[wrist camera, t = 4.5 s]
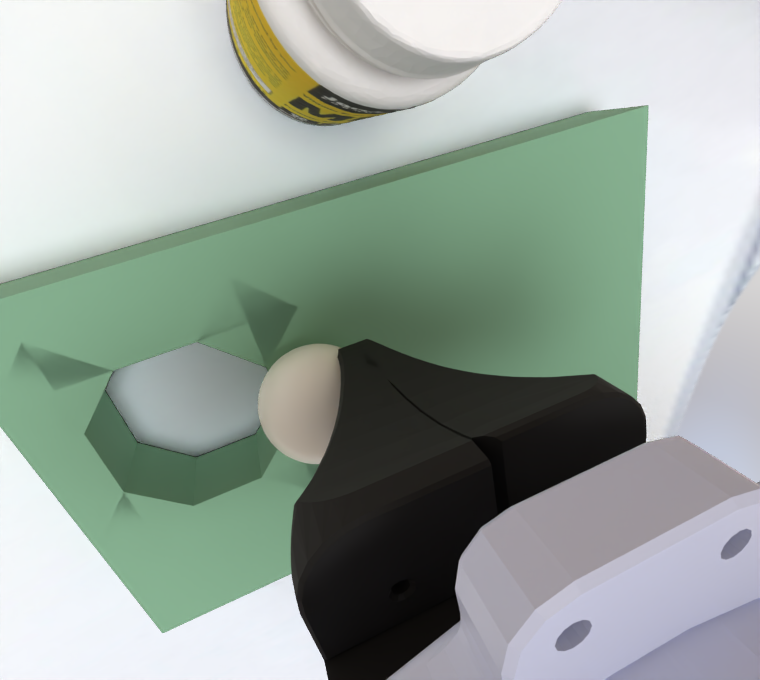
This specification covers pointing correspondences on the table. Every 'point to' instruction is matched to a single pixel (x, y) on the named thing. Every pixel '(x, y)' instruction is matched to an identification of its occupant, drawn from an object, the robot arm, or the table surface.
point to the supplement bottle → (370, 50)
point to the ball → (301, 401)
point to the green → (320, 332)
